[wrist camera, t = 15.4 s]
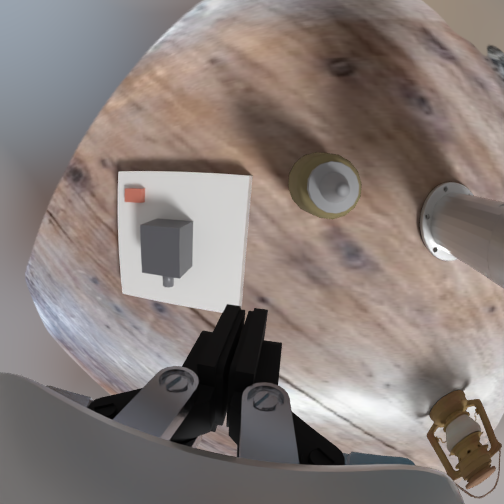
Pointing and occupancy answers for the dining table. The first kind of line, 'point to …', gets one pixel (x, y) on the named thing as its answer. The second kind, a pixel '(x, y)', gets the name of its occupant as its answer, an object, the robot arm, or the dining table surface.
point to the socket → (204, 234)
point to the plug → (166, 248)
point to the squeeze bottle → (325, 185)
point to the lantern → (463, 439)
